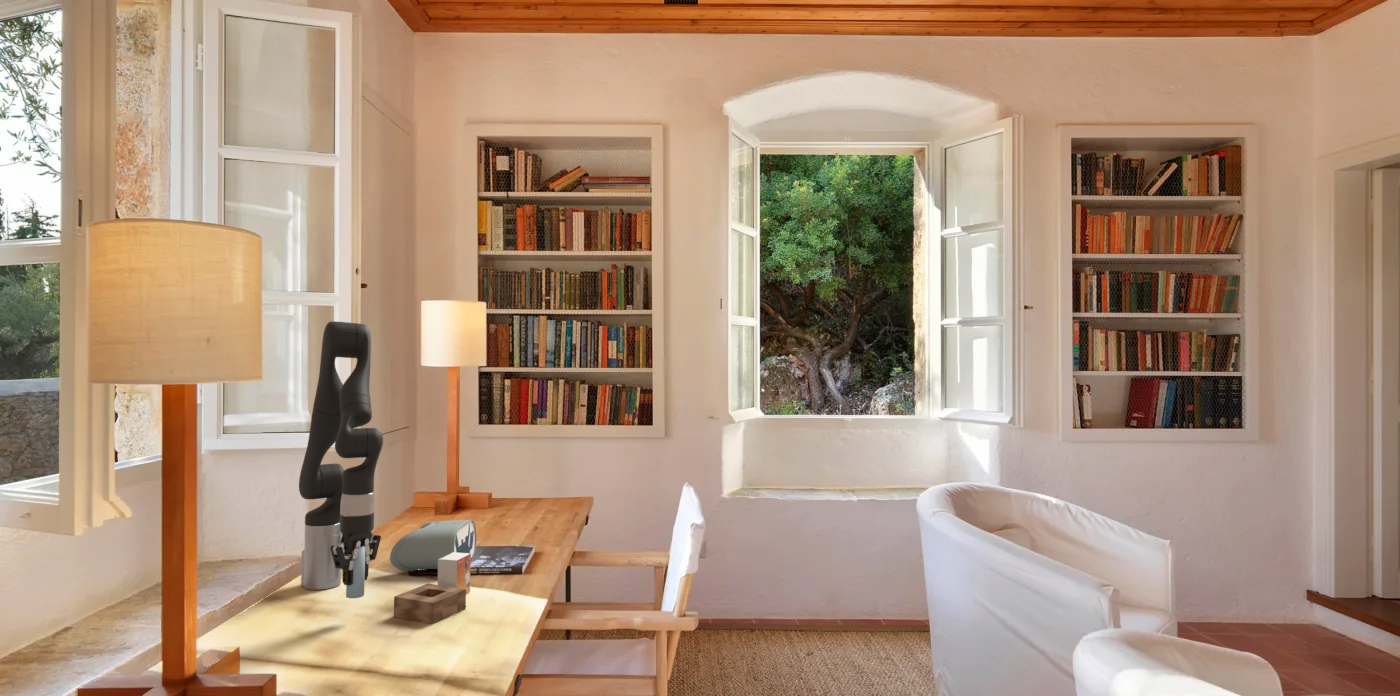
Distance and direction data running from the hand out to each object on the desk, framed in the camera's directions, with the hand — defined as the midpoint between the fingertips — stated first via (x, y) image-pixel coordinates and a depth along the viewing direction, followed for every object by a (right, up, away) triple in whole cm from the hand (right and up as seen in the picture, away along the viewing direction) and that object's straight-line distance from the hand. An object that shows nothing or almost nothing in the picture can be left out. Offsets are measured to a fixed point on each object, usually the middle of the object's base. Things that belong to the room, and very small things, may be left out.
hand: (355, 581), depth 192 cm
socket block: (+16, -10, +7) cm, 20 cm away
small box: (+17, -10, +21) cm, 29 cm away
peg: (0, -3, 0) cm, 3 cm away
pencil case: (+3, -10, +49) cm, 50 cm away
